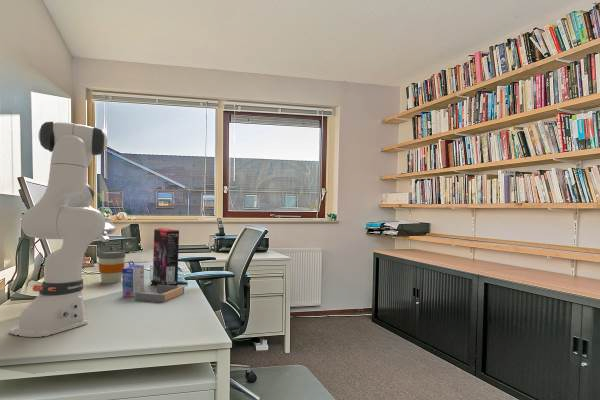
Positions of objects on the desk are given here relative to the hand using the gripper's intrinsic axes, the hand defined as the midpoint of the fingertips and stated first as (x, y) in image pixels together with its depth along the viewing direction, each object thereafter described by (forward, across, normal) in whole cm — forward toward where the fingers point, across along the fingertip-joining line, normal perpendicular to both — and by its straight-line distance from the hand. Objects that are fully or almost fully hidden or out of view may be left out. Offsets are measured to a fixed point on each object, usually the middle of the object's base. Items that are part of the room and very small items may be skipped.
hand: (106, 240), depth 183 cm
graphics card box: (+28, +22, +5) cm, 36 cm away
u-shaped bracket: (+36, 0, -4) cm, 36 cm away
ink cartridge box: (+26, 0, +6) cm, 27 cm away
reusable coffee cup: (+7, +20, +25) cm, 33 cm away
